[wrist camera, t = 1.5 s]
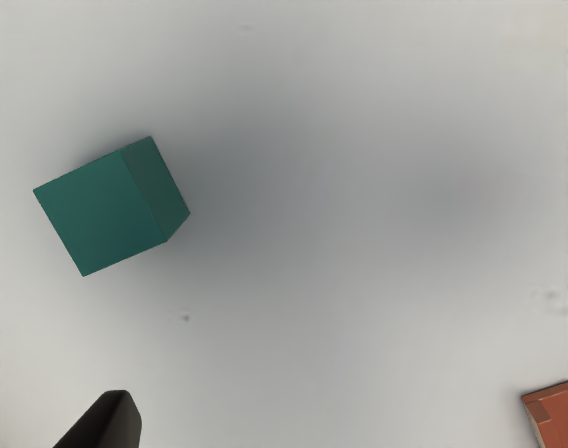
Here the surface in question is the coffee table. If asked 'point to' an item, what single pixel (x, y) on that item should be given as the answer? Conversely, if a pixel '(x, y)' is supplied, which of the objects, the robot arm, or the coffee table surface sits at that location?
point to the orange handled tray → (549, 415)
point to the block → (114, 206)
